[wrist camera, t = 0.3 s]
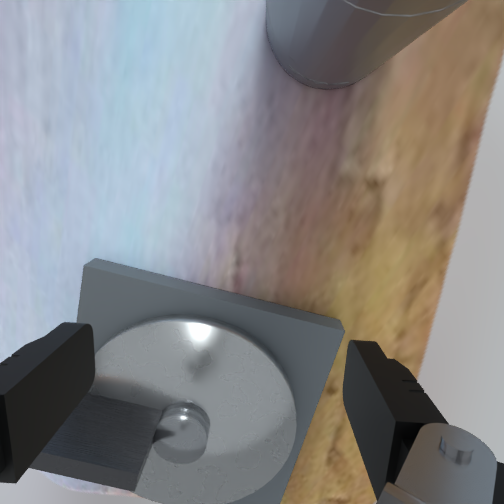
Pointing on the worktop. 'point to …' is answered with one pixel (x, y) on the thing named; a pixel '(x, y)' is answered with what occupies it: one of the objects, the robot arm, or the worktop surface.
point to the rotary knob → (179, 414)
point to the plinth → (228, 310)
